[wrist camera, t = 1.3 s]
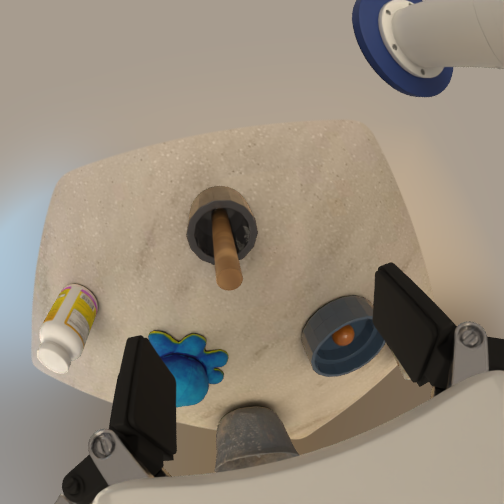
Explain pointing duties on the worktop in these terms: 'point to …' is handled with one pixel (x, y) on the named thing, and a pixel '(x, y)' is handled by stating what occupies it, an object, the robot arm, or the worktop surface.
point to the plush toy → (189, 365)
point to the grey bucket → (251, 439)
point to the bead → (343, 336)
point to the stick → (225, 252)
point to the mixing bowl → (331, 320)
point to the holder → (238, 218)
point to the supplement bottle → (67, 328)
